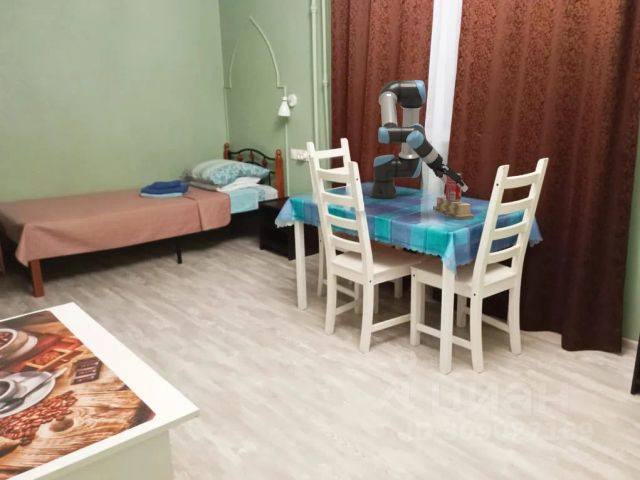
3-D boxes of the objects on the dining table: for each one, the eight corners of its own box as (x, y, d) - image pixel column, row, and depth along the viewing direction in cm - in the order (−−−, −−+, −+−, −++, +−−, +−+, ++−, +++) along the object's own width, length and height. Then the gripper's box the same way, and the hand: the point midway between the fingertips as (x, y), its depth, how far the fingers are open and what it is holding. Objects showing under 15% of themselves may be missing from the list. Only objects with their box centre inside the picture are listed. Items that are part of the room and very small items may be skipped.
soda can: (461, 202, 246) (463, 175, 242) (445, 201, 247) (447, 174, 244) (460, 199, 253) (461, 172, 249) (445, 199, 254) (446, 172, 250)
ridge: (432, 209, 262) (433, 196, 260) (446, 208, 264) (447, 195, 262) (459, 219, 240) (459, 206, 238) (473, 218, 242) (474, 204, 240)
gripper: (413, 161, 252) (439, 189, 260) (440, 167, 229) (467, 198, 237) (423, 149, 252) (449, 178, 260) (451, 155, 229) (478, 185, 238)
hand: (458, 187), depth 249 cm, fingers open, 13 cm apart
